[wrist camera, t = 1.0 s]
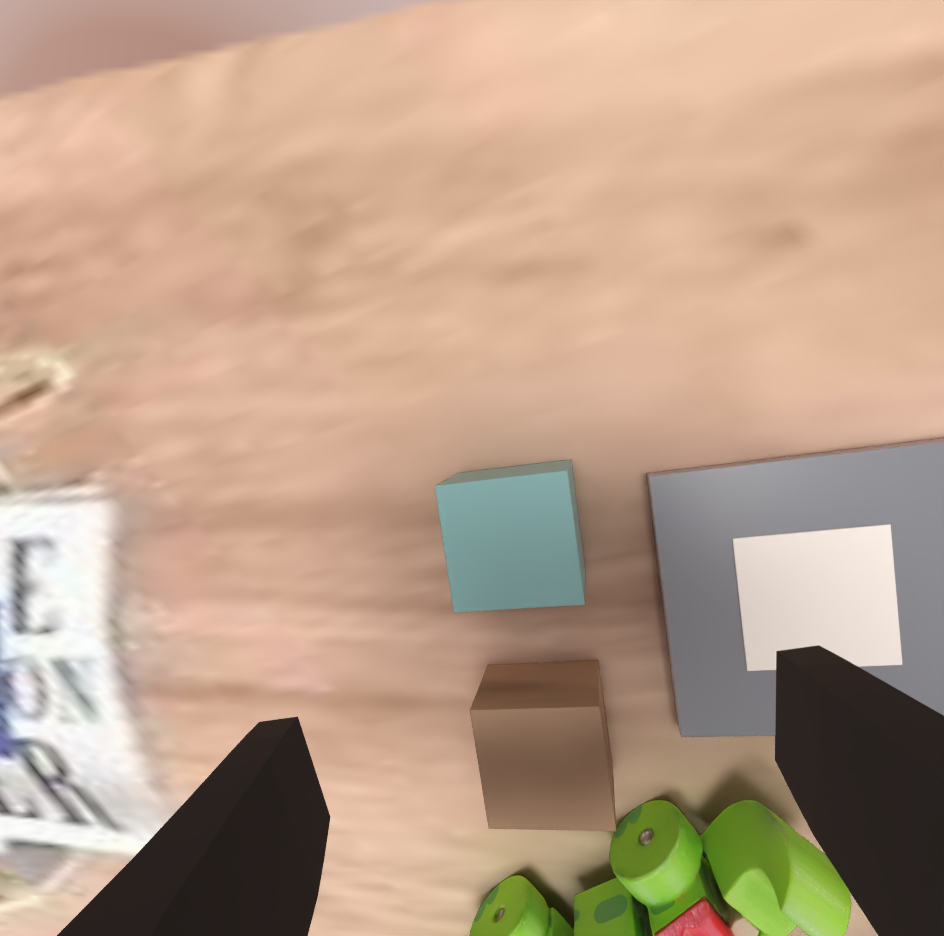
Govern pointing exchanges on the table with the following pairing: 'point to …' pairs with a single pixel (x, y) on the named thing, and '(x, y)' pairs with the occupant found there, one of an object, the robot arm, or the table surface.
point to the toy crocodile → (689, 883)
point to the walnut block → (544, 747)
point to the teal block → (512, 537)
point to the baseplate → (800, 575)
